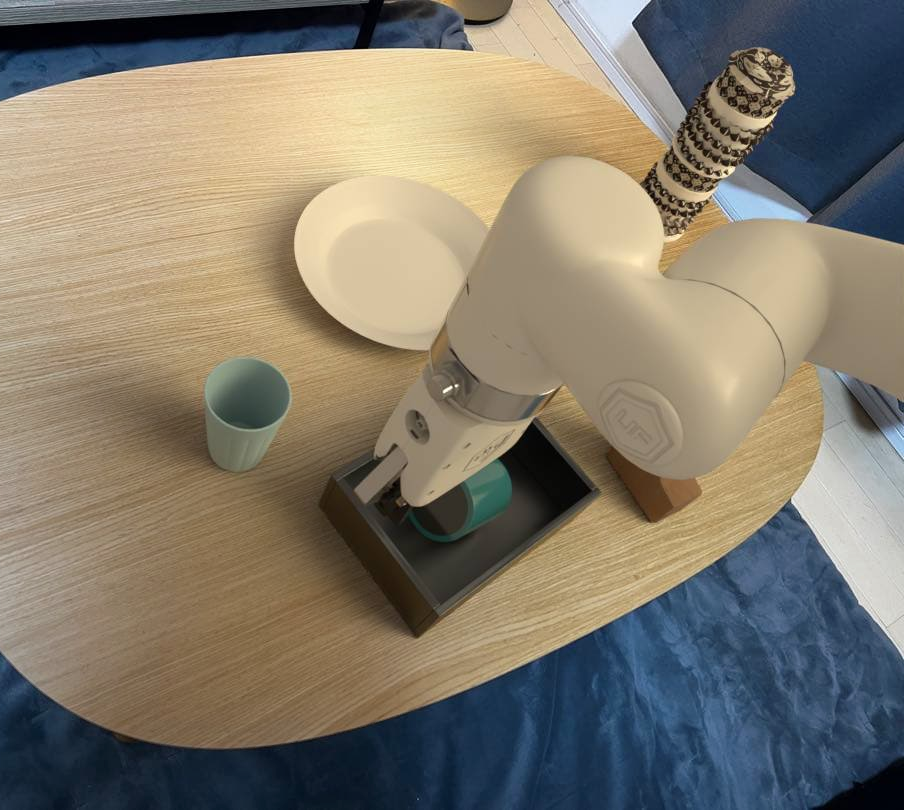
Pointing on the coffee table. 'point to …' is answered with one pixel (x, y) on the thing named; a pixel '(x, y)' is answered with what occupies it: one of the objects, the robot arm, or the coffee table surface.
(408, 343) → the white plate
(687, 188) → the decorative candle
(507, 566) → the dark grey shallow box
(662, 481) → the wooden block
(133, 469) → the coffee table surface
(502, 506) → the pot
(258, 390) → the cup
